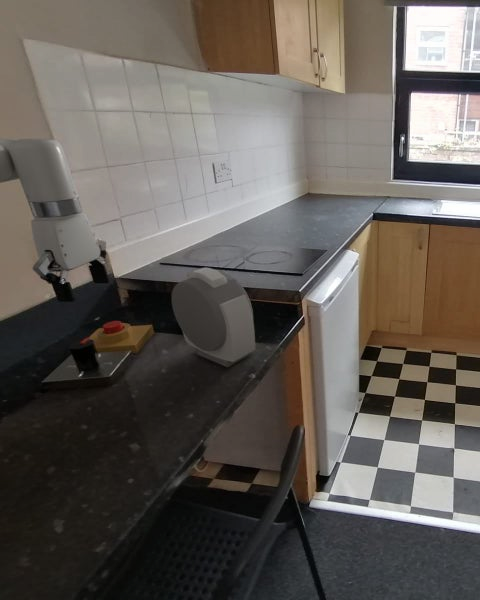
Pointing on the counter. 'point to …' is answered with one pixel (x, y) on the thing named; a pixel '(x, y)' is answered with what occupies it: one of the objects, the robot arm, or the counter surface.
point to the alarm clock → (215, 315)
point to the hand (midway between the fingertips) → (85, 291)
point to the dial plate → (88, 372)
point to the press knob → (113, 327)
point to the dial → (85, 354)
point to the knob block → (122, 338)
